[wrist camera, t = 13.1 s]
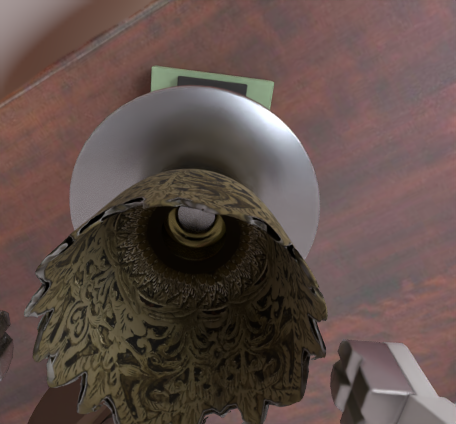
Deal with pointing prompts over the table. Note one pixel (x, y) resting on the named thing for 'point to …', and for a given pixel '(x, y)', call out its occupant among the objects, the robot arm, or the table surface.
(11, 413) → the table surface
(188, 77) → the scale
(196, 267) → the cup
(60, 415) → the alarm clock
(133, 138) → the brushed steel disc
